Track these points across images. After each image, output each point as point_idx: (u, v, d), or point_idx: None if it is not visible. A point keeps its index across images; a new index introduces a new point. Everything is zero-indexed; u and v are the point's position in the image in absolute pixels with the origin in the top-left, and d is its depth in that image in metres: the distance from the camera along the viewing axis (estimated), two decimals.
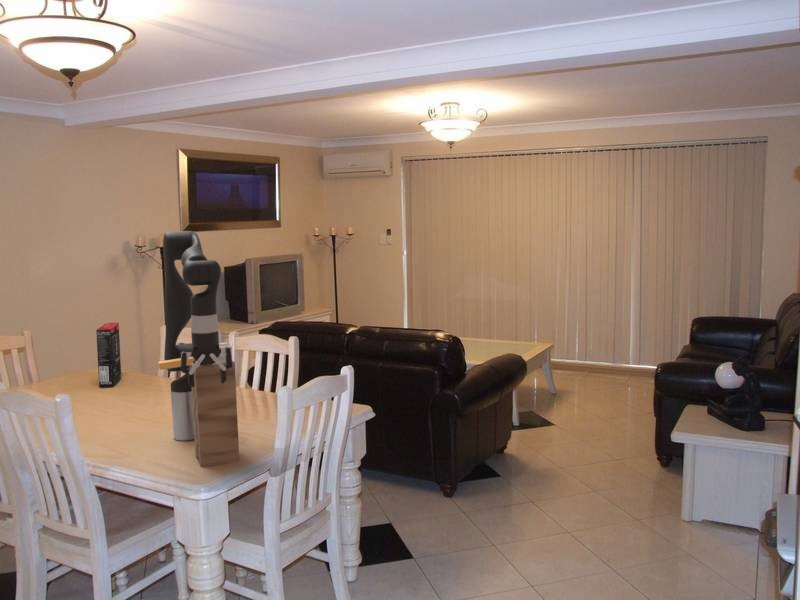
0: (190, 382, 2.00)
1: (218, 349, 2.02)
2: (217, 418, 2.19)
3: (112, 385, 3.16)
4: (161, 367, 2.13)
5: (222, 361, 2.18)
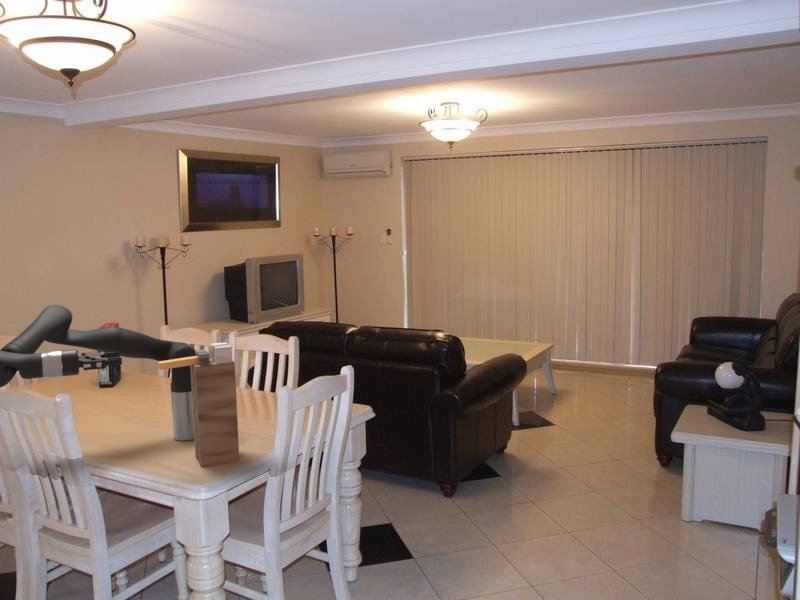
0: (116, 359, 2.04)
1: (82, 355, 2.07)
2: (217, 418, 2.19)
3: (112, 385, 3.16)
4: (161, 367, 2.13)
5: (222, 361, 2.18)
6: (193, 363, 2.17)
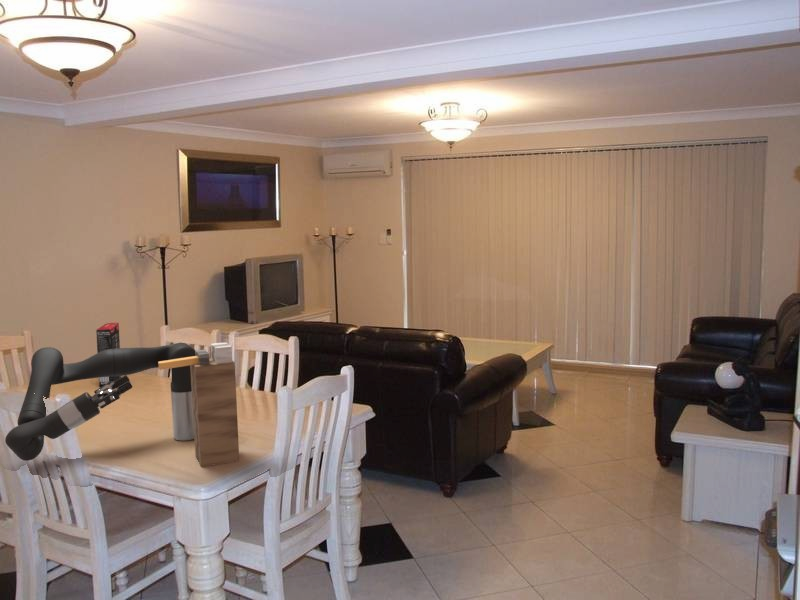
0: (125, 385, 2.06)
1: (95, 394, 2.10)
2: (217, 418, 2.19)
3: None
4: (161, 367, 2.13)
5: (222, 361, 2.18)
6: (193, 363, 2.17)
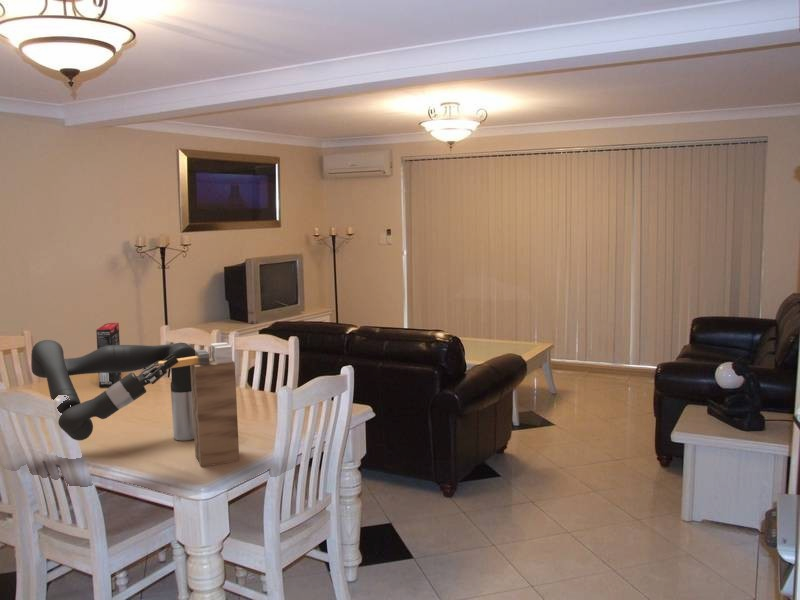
0: (171, 360, 2.13)
1: None
2: (217, 418, 2.19)
3: None
4: None
5: (222, 361, 2.18)
6: (193, 363, 2.17)
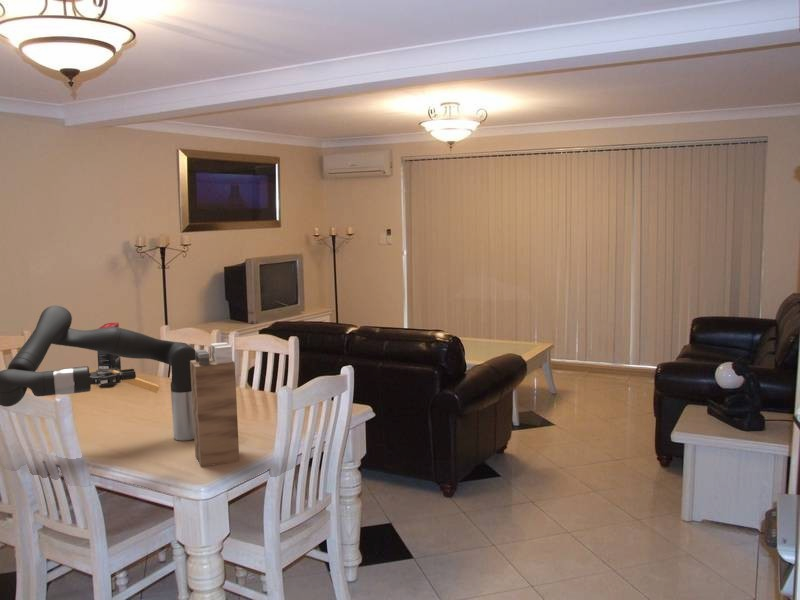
0: (130, 373, 2.08)
1: None
2: (217, 418, 2.19)
3: (112, 385, 3.16)
4: None
5: (222, 361, 2.18)
6: (144, 387, 2.11)
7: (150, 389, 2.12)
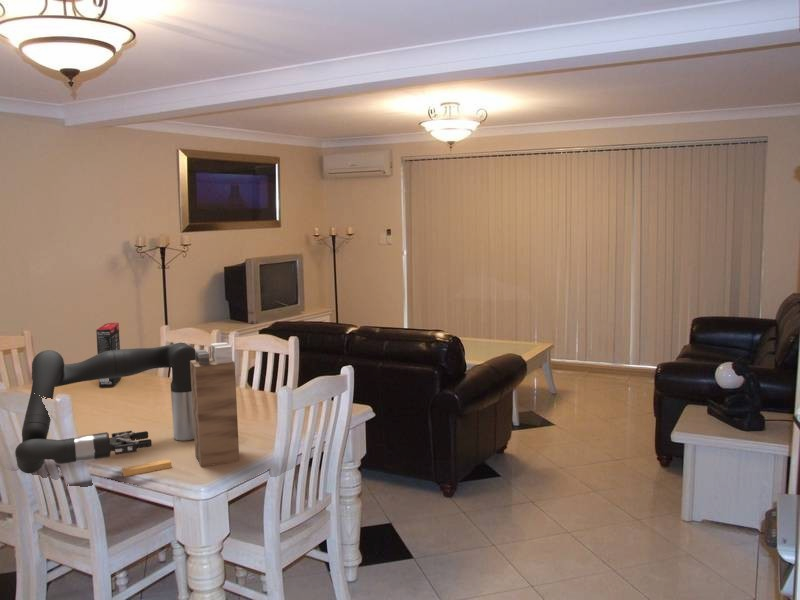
0: (146, 441, 2.10)
1: (112, 437, 2.14)
2: (217, 418, 2.19)
3: (112, 385, 3.16)
4: (125, 474, 2.12)
5: (222, 361, 2.18)
6: (158, 469, 2.16)
7: (164, 468, 2.17)
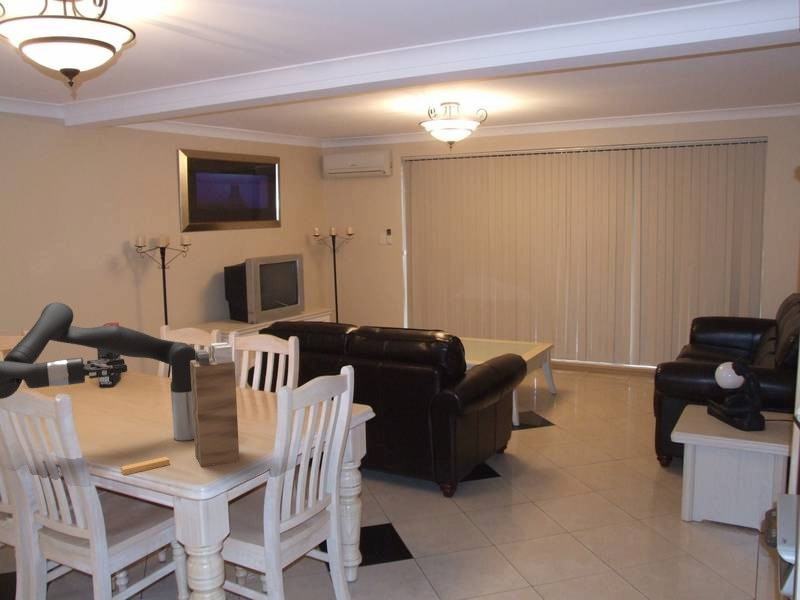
0: (121, 366, 2.05)
1: (87, 363, 2.08)
2: (217, 418, 2.19)
3: (112, 385, 3.16)
4: (125, 473, 2.13)
5: (222, 361, 2.18)
6: None
7: (162, 465, 2.20)
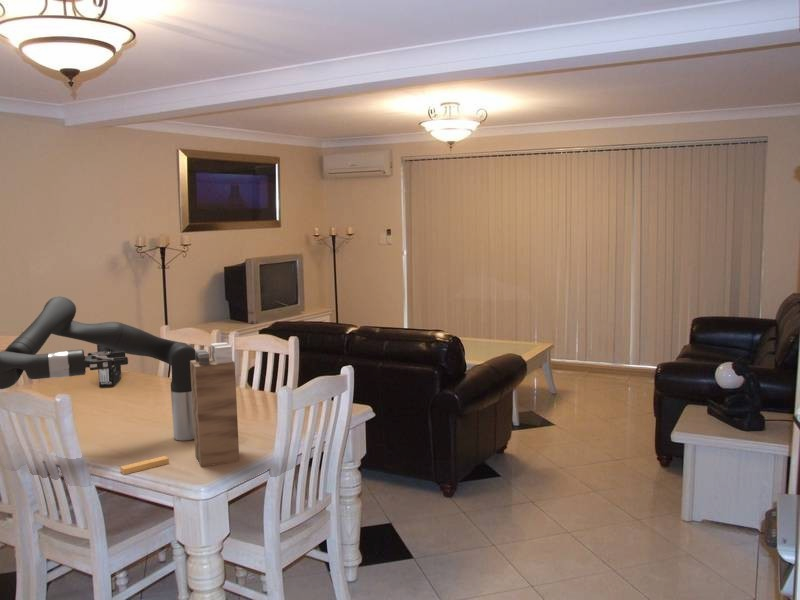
0: (122, 359, 2.04)
1: (88, 355, 2.08)
2: (217, 418, 2.19)
3: (112, 385, 3.16)
4: (125, 473, 2.13)
5: (222, 361, 2.18)
6: None
7: (162, 464, 2.20)
